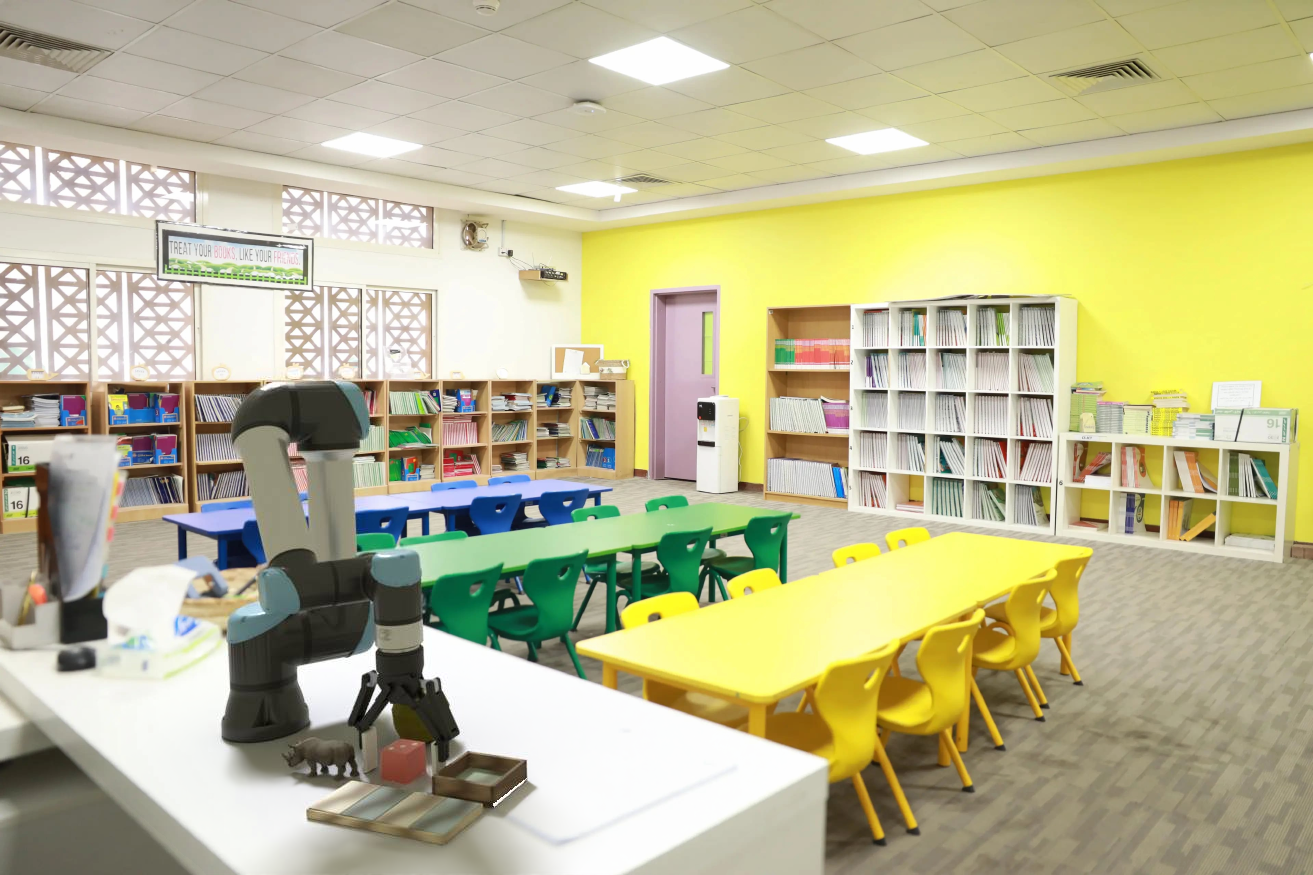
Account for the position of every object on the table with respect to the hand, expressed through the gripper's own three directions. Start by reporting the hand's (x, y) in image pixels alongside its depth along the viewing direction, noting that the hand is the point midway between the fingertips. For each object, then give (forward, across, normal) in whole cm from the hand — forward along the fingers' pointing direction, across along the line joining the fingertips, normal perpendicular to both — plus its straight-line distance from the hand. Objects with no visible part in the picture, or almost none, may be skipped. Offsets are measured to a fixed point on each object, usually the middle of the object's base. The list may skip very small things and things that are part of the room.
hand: (404, 774), depth 144 cm
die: (0, 0, 0) cm, 0 cm away
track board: (0, +7, -11) cm, 13 cm away
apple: (0, -6, +13) cm, 14 cm away
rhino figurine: (0, -14, -4) cm, 15 cm away
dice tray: (0, +14, 0) cm, 14 cm away
